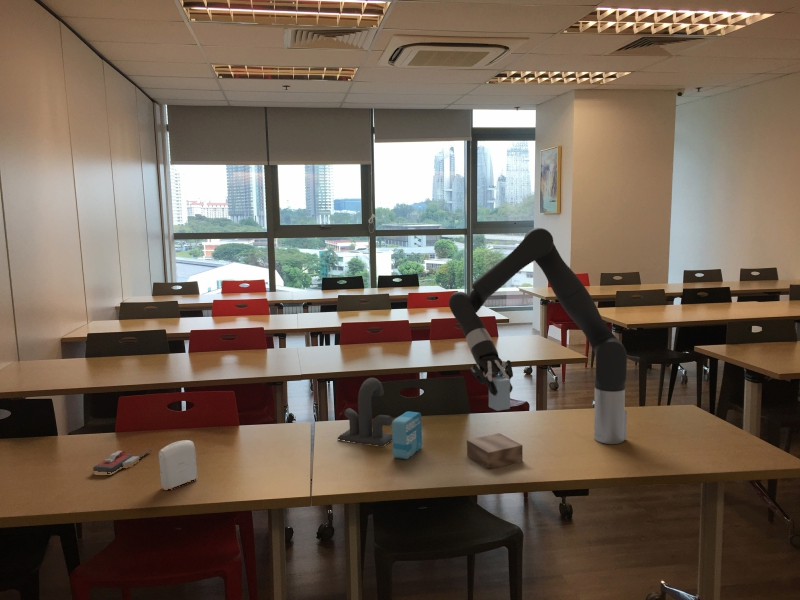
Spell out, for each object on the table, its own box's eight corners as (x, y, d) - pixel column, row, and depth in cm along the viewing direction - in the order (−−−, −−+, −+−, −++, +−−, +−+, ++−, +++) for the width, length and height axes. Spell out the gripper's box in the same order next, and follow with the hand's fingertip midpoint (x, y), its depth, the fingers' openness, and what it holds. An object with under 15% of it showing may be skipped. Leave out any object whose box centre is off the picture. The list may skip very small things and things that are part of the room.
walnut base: (499, 448, 196) (499, 433, 196) (522, 461, 185) (522, 445, 185) (467, 455, 191) (466, 439, 191) (488, 469, 180) (488, 452, 180)
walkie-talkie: (116, 479, 182) (153, 453, 202) (114, 465, 182) (152, 440, 201) (89, 478, 184) (129, 452, 203) (87, 463, 183) (128, 439, 203)
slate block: (501, 404, 191) (501, 376, 190) (509, 408, 187) (510, 379, 186) (488, 406, 189) (488, 377, 188) (497, 410, 185) (497, 381, 184)
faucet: (405, 431, 214) (403, 375, 212) (385, 447, 200) (383, 387, 198) (359, 425, 222) (357, 371, 219) (336, 440, 208) (334, 382, 205)
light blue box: (405, 461, 188) (404, 423, 187) (392, 458, 190) (391, 421, 189) (422, 447, 199) (421, 411, 197) (409, 445, 201) (408, 409, 200)
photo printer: (166, 492, 171) (163, 449, 169) (158, 488, 174) (155, 446, 172) (200, 480, 179) (196, 438, 177) (191, 476, 182) (188, 435, 180)
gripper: (466, 341, 189) (487, 389, 180) (505, 337, 195) (528, 383, 186) (457, 355, 195) (477, 402, 185) (495, 350, 200) (517, 396, 191)
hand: (502, 392), depth 186 cm, fingers closed on slate block, 4 cm apart
